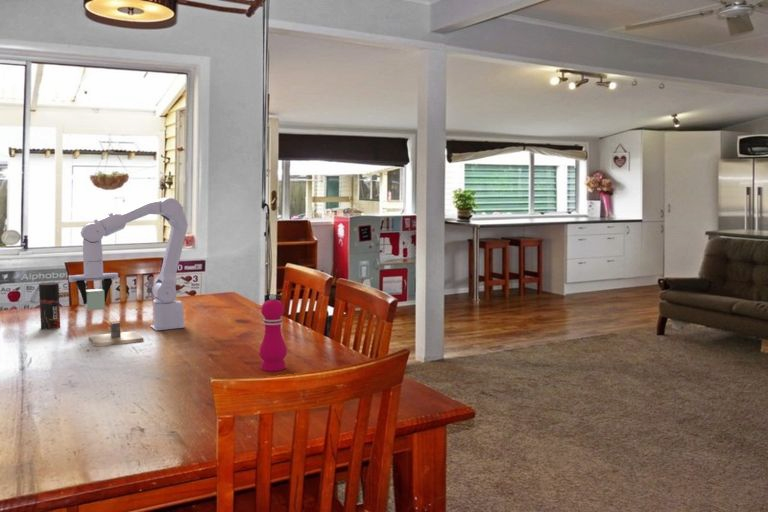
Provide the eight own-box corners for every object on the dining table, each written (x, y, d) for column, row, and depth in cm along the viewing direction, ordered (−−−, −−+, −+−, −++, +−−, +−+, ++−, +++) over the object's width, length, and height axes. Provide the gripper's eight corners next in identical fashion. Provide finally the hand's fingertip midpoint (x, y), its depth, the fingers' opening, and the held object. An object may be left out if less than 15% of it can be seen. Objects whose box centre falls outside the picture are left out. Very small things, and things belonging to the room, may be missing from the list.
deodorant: (52, 329, 228) (50, 285, 226) (36, 328, 229) (34, 284, 227) (64, 326, 233) (62, 282, 232) (48, 325, 235) (46, 282, 233)
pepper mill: (272, 363, 186) (272, 291, 184) (292, 367, 182) (292, 293, 180) (253, 369, 180) (252, 294, 178) (273, 373, 176) (272, 297, 174)
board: (134, 334, 222) (134, 317, 221) (143, 341, 212) (142, 323, 211) (88, 338, 214) (87, 321, 214) (95, 346, 204) (94, 328, 204)
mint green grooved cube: (102, 306, 224) (101, 288, 223) (105, 309, 219) (104, 290, 219) (84, 308, 221) (84, 289, 220) (87, 310, 216) (86, 292, 216)
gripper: (114, 258, 226) (115, 299, 227) (66, 260, 218) (68, 302, 219) (118, 260, 220) (120, 302, 221) (69, 263, 212) (71, 306, 213)
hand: (94, 302), depth 220 cm, fingers closed on mint green grooved cube, 5 cm apart
